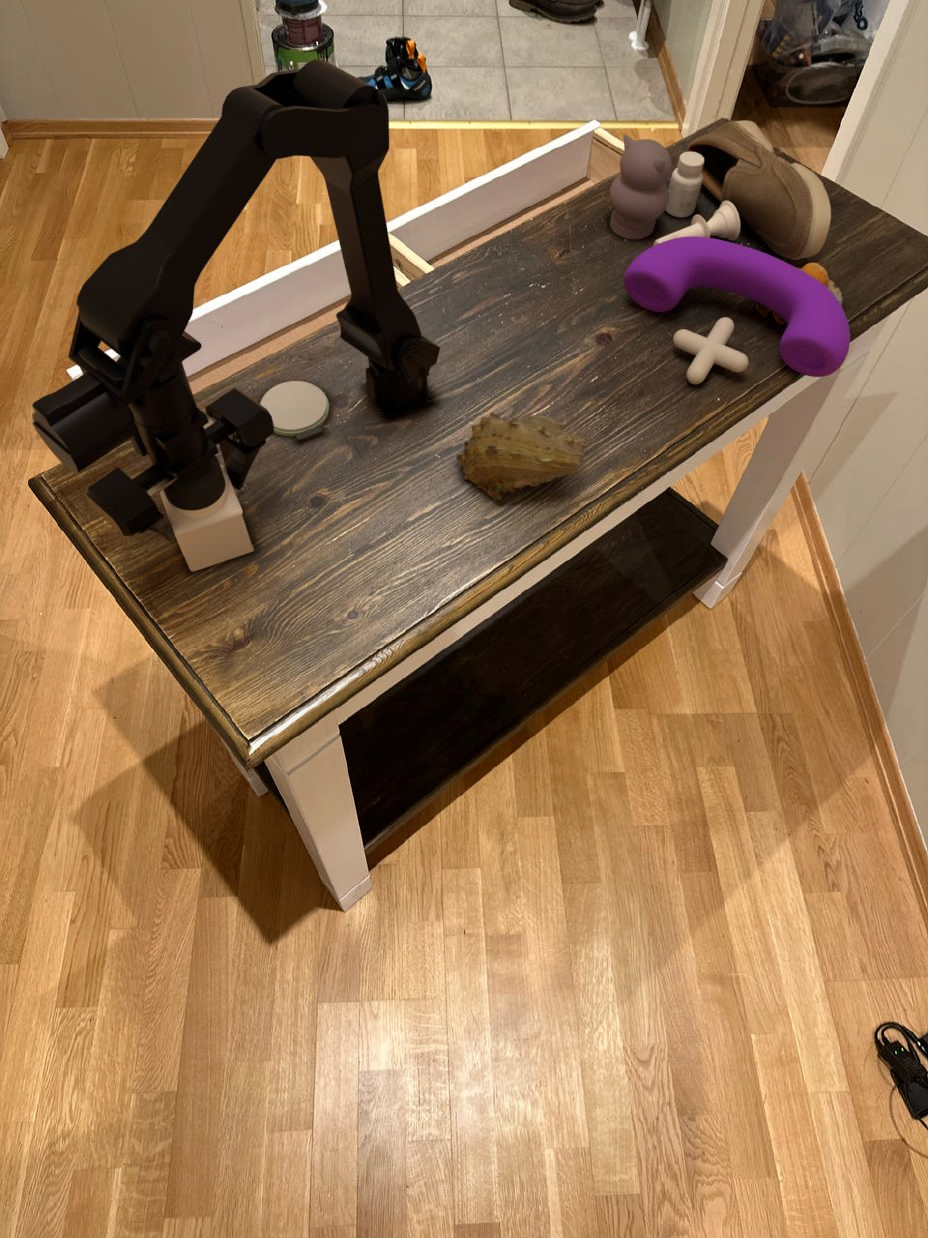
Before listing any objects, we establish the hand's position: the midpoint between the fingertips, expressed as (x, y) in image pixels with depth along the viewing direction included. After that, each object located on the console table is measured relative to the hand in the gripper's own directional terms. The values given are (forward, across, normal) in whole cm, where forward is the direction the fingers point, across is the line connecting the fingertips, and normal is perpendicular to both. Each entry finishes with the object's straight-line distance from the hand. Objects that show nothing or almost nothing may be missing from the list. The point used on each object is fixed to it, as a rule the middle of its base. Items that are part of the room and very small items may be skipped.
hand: (203, 512), depth 92 cm
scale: (+4, -19, -7) cm, 21 cm away
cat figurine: (+4, -76, +1) cm, 77 cm away
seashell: (+5, -30, +19) cm, 36 cm away
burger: (+4, -78, +27) cm, 83 cm away
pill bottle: (+4, -84, +4) cm, 85 cm away
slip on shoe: (-1, -91, +15) cm, 93 cm away
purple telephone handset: (-7, -70, +17) cm, 72 cm away
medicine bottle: (+4, 0, 0) cm, 5 cm away
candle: (+1, -83, +13) cm, 84 cm away
